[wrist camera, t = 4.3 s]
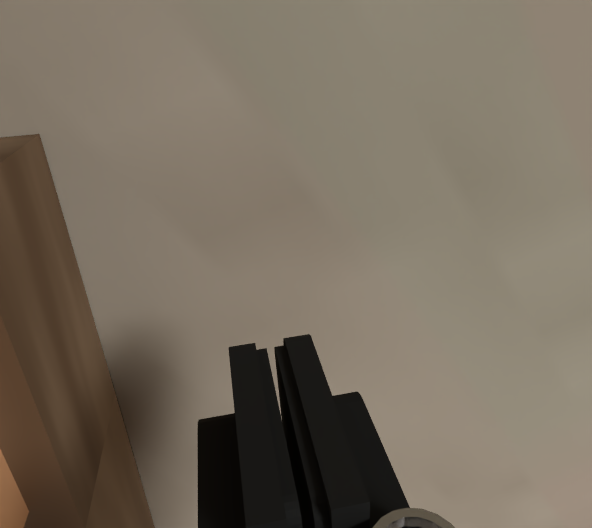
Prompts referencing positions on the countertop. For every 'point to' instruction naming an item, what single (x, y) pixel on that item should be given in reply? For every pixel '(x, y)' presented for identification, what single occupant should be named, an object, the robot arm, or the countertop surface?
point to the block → (10, 499)
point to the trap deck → (55, 365)
